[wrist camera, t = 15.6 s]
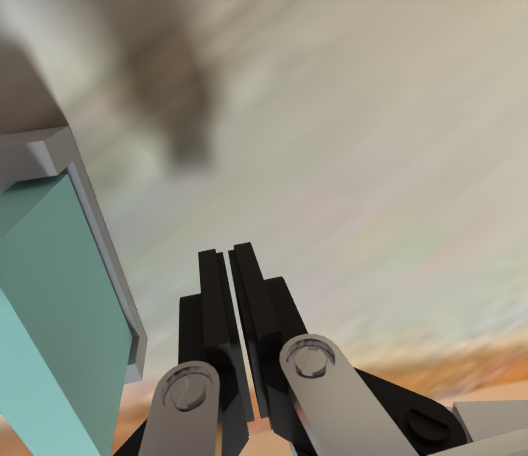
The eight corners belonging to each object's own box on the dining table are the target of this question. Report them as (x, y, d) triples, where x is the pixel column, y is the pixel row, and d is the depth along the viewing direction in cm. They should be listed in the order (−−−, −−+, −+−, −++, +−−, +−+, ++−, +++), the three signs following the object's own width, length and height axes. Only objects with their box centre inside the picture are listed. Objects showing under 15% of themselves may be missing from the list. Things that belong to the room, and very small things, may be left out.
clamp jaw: (67, 173, 11) (-18, 257, 6) (132, 337, 14) (108, 466, 10) (18, 180, 11) (-107, 273, 6) (96, 345, 14) (53, 481, 10)
